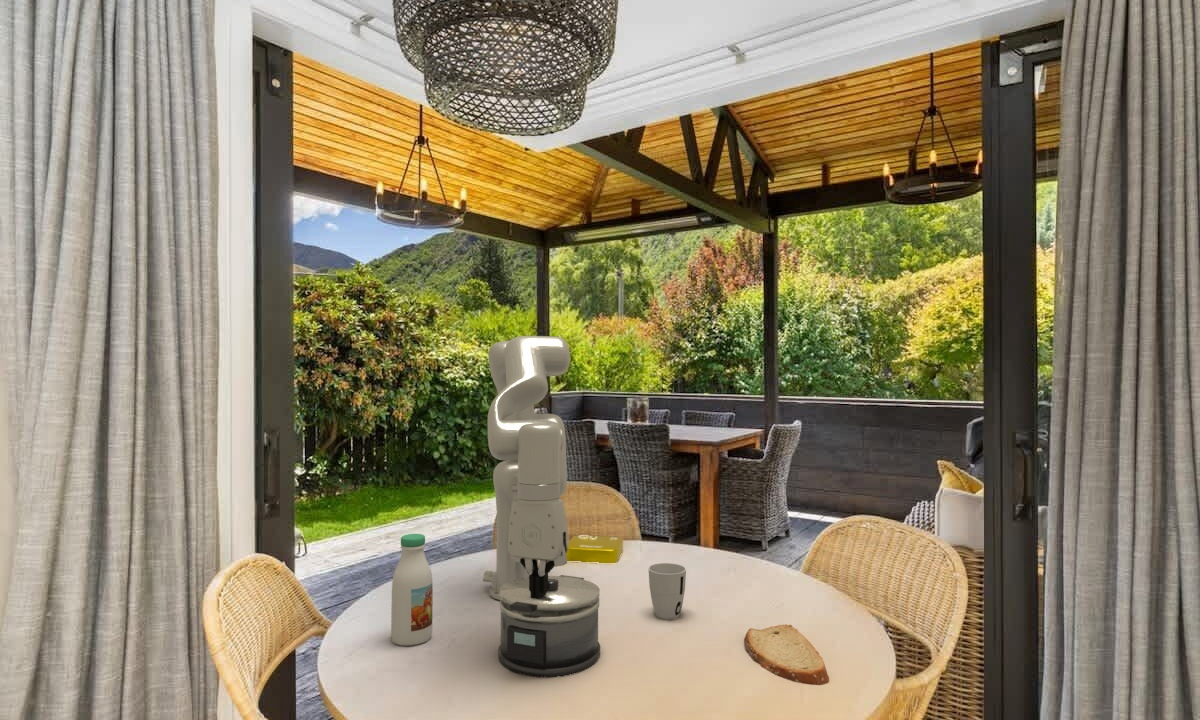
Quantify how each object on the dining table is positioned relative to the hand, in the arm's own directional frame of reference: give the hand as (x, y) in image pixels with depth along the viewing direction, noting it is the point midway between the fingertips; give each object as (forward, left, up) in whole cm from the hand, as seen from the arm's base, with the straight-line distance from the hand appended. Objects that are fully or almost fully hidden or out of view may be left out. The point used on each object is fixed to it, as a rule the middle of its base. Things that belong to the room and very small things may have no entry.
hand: (538, 596), depth 113 cm
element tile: (-17, +69, -13) cm, 73 cm away
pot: (0, +7, -12) cm, 14 cm away
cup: (+15, +32, -13) cm, 38 cm away
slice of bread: (+41, +21, -13) cm, 47 cm away
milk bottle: (-28, +1, -13) cm, 31 cm away
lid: (0, +5, -2) cm, 5 cm away
